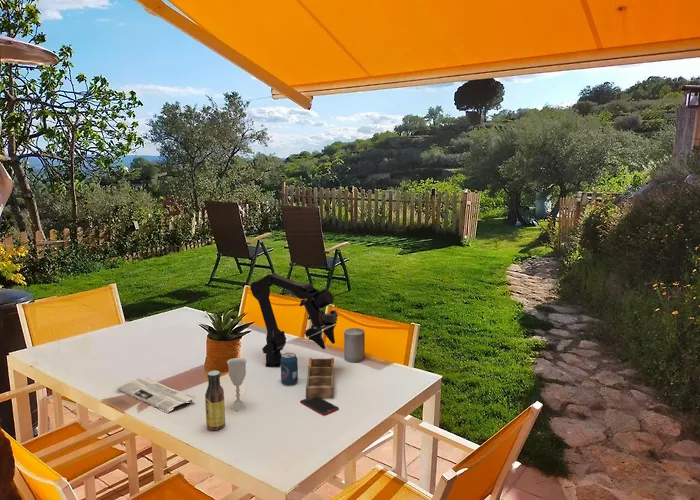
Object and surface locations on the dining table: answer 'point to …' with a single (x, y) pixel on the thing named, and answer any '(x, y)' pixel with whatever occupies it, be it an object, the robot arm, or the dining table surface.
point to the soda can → (289, 369)
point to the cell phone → (319, 405)
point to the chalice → (237, 378)
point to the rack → (320, 378)
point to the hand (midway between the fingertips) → (329, 346)
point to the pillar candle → (354, 345)
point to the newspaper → (155, 393)
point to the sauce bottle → (214, 402)
